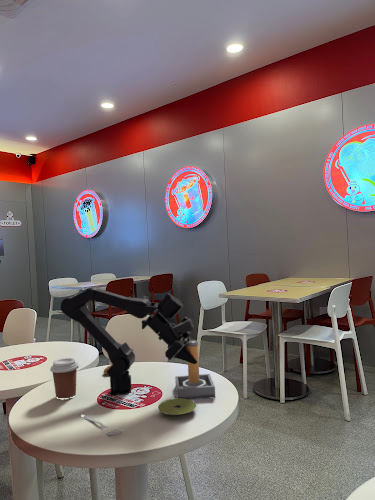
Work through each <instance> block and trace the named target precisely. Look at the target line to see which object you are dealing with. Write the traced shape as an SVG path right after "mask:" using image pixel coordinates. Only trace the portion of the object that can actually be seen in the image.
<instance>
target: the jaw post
mask: <svg viewBox="0 0 375 500" xmlns="http://www.w3.org/2000/svg"><path fill="white" fill-rule="evenodd" d="M198 343H199V341H197V340H190V341H188V342H187V349H188V350H189V351H190V353H191V354H192V355H193V357H194V358H195V359H196V361H197V363H196V364H193V363H190V362H187V372H188V373H187V374H188V375H187V376H188V378H189V382H190V383H197V382H199V375H200V367H199V365H200V363H199V362H200V361H199V359H200V358H199V344H198ZM198 358H199V359H198Z"/></svg>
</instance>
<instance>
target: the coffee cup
mask: <svg viewBox="0 0 375 500" xmlns="http://www.w3.org/2000/svg"><path fill="white" fill-rule="evenodd" d="M78 368H79V363H78V362H77V361H76V359H75V358H72V357H65V358H58V359H56V360H54V361H53V364H52V366H50V368H49V370H50V371H49V372H51V373H52V378H53V386H54V390H55V391H54V392H55V398H56V397H58V398H70V397H73V396H75V395H76V396H77V370H78ZM76 396H75V397H76Z"/></svg>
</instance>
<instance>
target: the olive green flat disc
mask: <svg viewBox="0 0 375 500" xmlns="http://www.w3.org/2000/svg"><path fill="white" fill-rule="evenodd" d="M157 406H158V407H157V409H158V411H159V412H160V413H163V414H165V415H171V416H177V415H185V414H187V413H188V414H189V413H191V412H193V411H194V410H195V409H196V408H197V403H196V401H194V400H193V399H190V400H189V399H182V398H179V399H177V398H171V399H167V400H164V401H162V402H160V403H159V405H157Z"/></svg>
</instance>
